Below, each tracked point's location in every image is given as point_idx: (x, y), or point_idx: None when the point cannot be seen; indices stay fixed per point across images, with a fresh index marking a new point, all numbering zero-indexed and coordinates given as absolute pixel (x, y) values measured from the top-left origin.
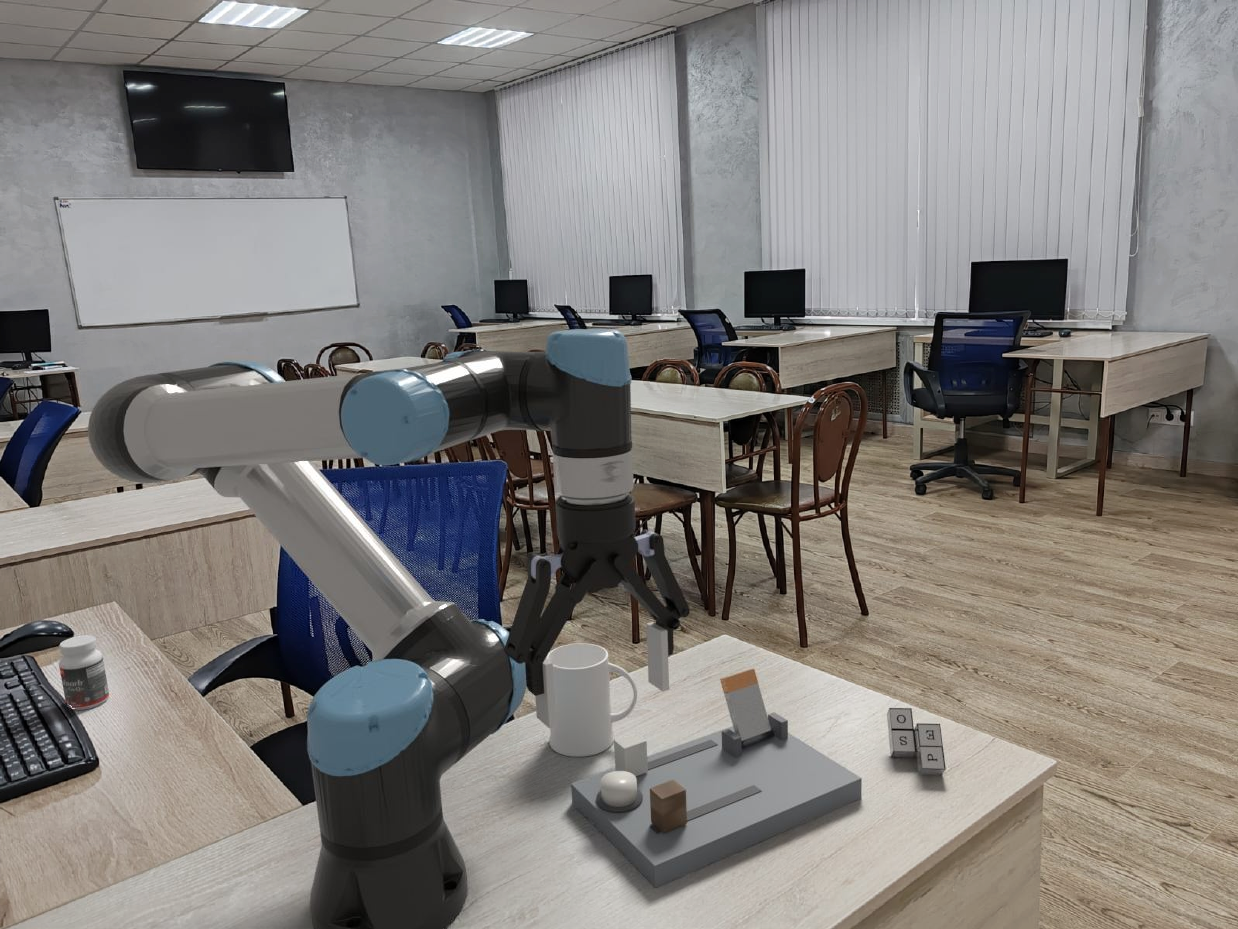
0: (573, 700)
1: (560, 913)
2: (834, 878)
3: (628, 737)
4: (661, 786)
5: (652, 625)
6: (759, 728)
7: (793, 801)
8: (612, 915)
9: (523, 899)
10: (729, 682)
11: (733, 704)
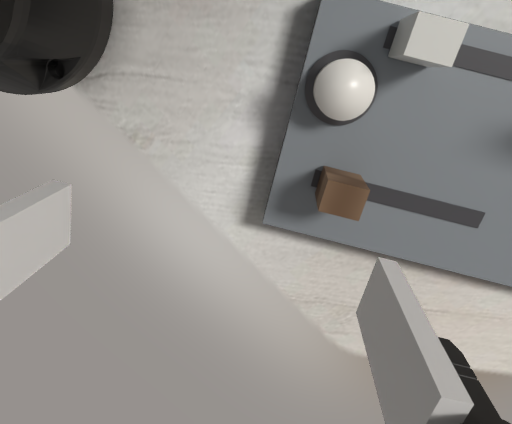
0: None
1: (166, 165)
2: None
3: (443, 28)
4: (343, 189)
5: (437, 422)
6: None
7: (476, 269)
8: (204, 207)
9: (148, 117)
10: None
11: None
